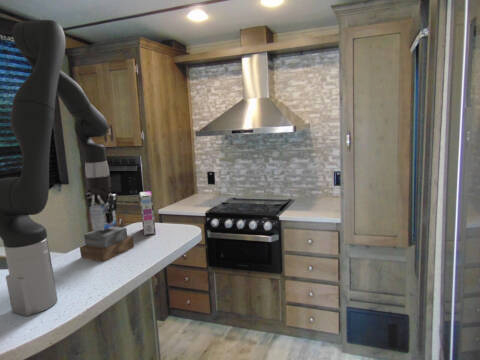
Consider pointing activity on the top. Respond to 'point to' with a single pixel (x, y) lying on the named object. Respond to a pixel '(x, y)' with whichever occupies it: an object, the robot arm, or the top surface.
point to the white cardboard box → (147, 213)
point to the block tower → (106, 243)
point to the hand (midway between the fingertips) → (104, 222)
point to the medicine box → (100, 217)
